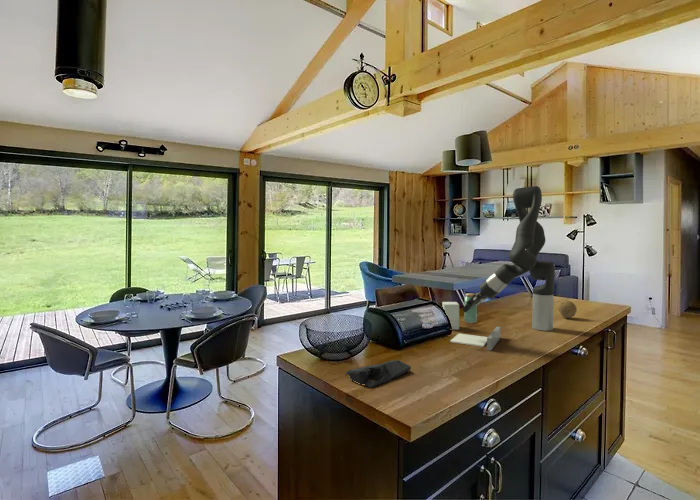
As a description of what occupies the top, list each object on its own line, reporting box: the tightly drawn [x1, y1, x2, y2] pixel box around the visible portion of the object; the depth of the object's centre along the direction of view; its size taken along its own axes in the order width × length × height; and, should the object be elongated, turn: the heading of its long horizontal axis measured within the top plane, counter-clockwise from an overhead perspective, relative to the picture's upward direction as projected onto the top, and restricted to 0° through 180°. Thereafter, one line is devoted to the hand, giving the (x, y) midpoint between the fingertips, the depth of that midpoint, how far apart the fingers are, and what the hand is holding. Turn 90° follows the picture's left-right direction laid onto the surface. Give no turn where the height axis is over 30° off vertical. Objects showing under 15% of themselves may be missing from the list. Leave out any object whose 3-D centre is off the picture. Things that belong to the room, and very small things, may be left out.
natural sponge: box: [557, 299, 578, 319], centre depth 212 cm, size 9×9×10 cm
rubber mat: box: [449, 333, 488, 348], centre depth 171 cm, size 14×14×1 cm
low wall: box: [486, 326, 502, 352], centre depth 166 cm, size 22×2×5 cm, turn 149°
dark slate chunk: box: [345, 359, 412, 388], centre depth 132 cm, size 15×22×5 cm
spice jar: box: [463, 292, 478, 324], centre depth 171 cm, size 5×5×12 cm
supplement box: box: [441, 301, 460, 330], centre depth 194 cm, size 7×7×13 cm
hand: (466, 309), depth 172 cm, fingers closed on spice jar, 5 cm apart
